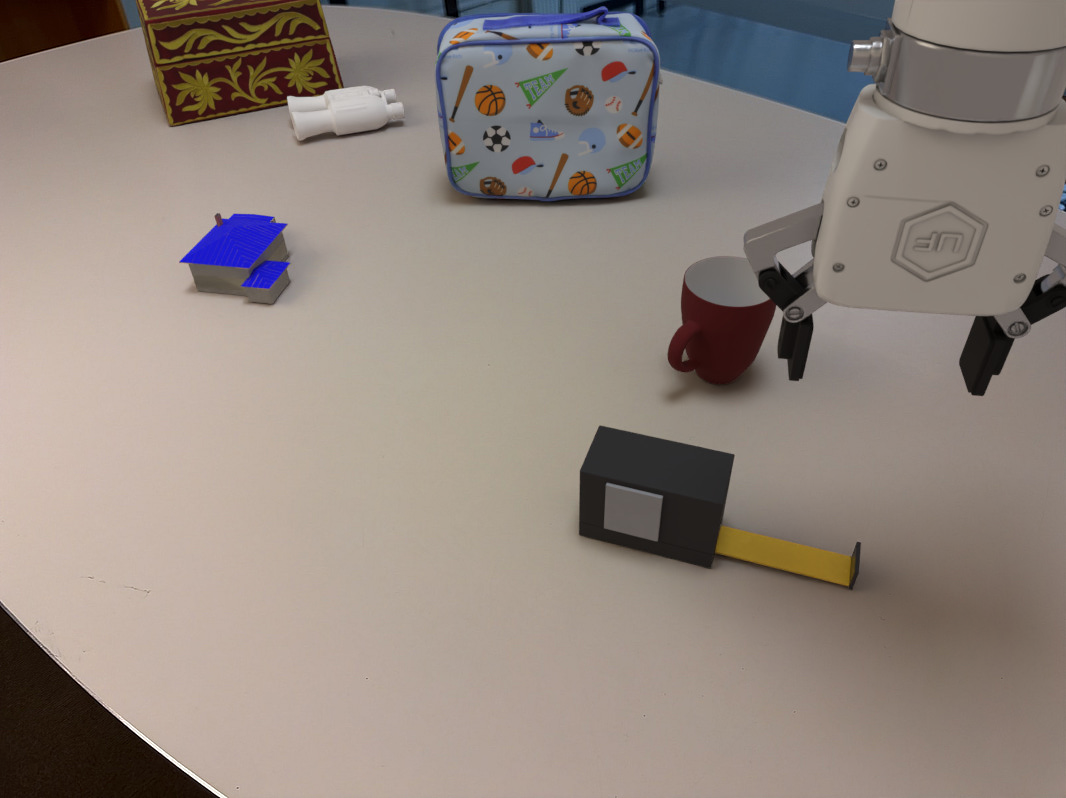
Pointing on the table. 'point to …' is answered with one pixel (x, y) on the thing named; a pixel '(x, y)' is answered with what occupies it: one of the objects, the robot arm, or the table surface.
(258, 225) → the house
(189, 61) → the decorative box
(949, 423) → the table surface
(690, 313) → the mug
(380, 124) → the binoculars
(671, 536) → the tape case
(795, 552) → the tape blade
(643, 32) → the lunch box
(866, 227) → the robot arm
